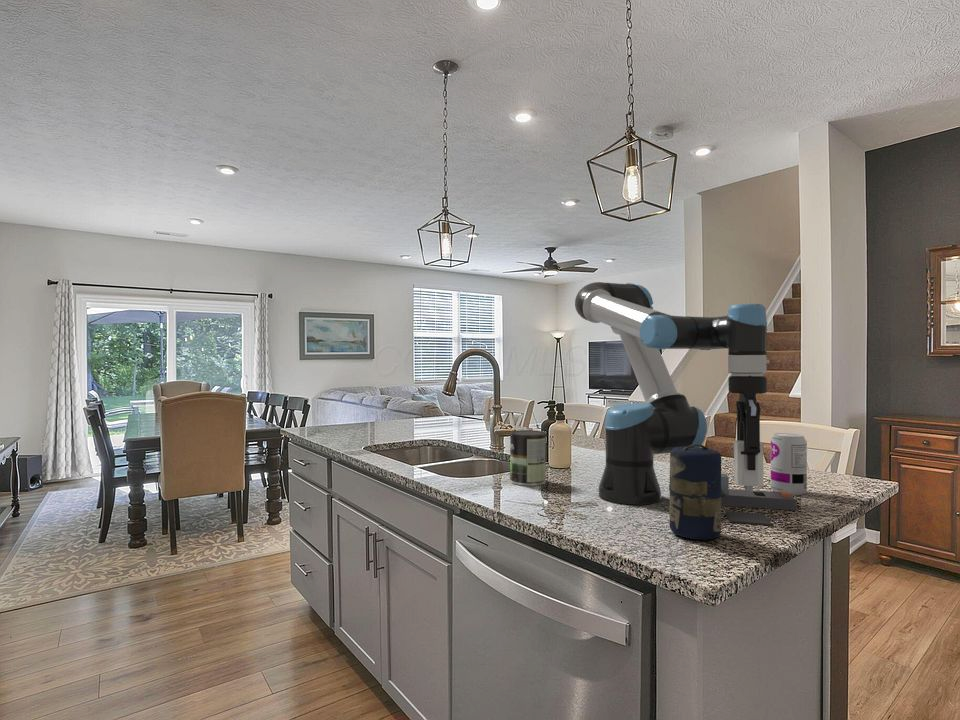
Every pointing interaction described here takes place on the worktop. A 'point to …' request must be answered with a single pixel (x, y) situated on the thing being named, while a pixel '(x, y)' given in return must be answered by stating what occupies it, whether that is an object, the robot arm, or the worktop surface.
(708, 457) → the canister
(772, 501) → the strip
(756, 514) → the mat
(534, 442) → the coffee can
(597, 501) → the worktop surface
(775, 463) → the supplement can
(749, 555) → the worktop surface
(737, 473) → the block
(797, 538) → the worktop surface
